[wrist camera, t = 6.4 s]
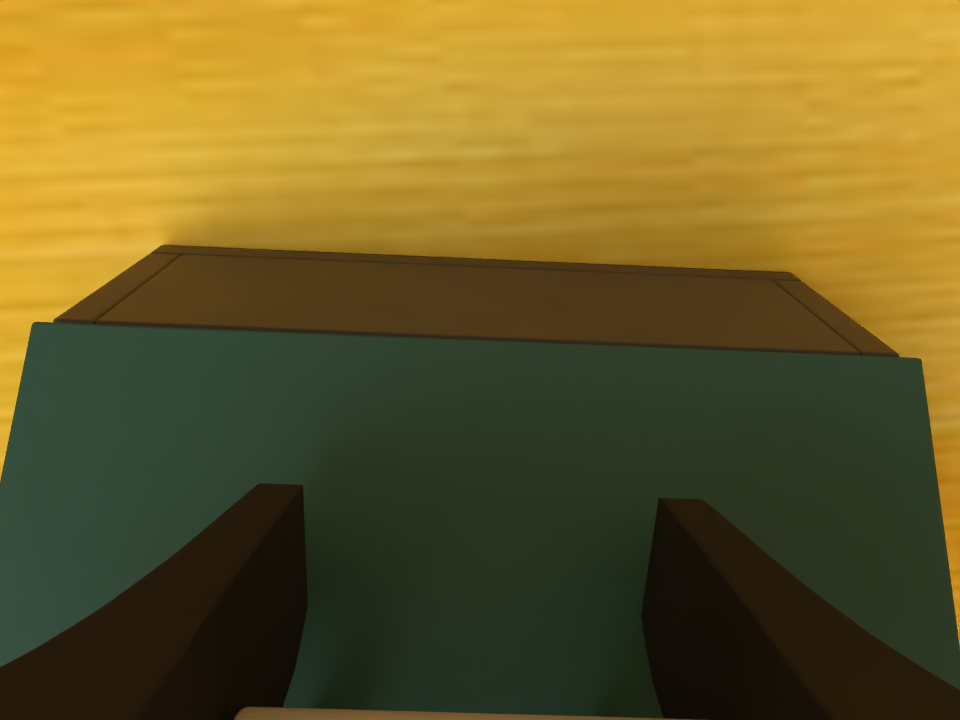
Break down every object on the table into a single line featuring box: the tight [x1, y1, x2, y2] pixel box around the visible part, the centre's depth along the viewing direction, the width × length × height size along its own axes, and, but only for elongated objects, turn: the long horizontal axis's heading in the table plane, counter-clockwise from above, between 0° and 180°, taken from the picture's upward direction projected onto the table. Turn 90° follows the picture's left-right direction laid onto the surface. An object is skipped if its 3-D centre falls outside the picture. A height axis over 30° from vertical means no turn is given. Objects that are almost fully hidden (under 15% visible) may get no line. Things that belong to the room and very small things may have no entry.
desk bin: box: [53, 245, 899, 357], centre depth 18 cm, size 9×14×5 cm, turn 87°
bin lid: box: [0, 322, 960, 720], centre depth 10 cm, size 10×14×5 cm
